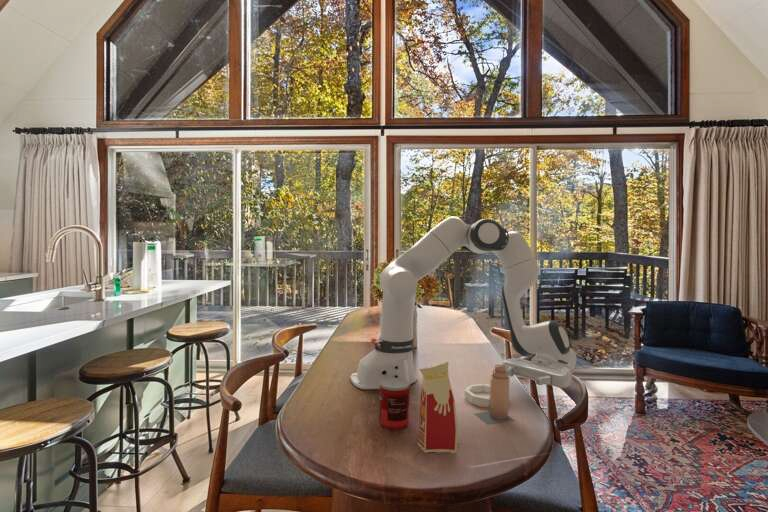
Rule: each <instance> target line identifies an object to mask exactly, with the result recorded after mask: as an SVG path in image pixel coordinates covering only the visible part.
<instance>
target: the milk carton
mask: <svg viewBox="0 0 768 512" xmlns="http://www.w3.org/2000/svg"><path fill="white" fill-rule="evenodd" d="M418 370H419V371H420V372H421V375H422V382H421V383H422V384H421V389H420V390H421V392H420V398H419V399H420V400H419V401H420V403H419V414H418V416H419V420H418V422H419V423H418V424H419V427H418V435H417V436H418V437H417V447H419V446H420V447H421V448H420V447H419V448H420V449H421V450H422V451H423V452H424V453H425V454H428V453H427V452H435V453H441V452H451V453H450V454H457V453H458V452H457V451H458V450H457V449H458V421H457V419H458V418H457V411H456V399H455V397H454V392H453V389H452V385H451V382H450V378H449V377H450V376H449V361H444V362H443V363H442V362H441V363H440V364H436V365H434V366H429V367H428V366H427V367H422V368H418Z"/></svg>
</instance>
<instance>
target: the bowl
mask: <svg viewBox="0 0 768 512" xmlns="http://www.w3.org/2000/svg"><path fill="white" fill-rule="evenodd" d="M464 398H465V399H466V401H467V402H468V403H470V404H472V405H474V406H476V407H477V406H478V407H483V408H490V384H488V383H487V384H486V383H479V384H478V383H477V384H469V385H468V386H466V388H465V389H464Z"/></svg>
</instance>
